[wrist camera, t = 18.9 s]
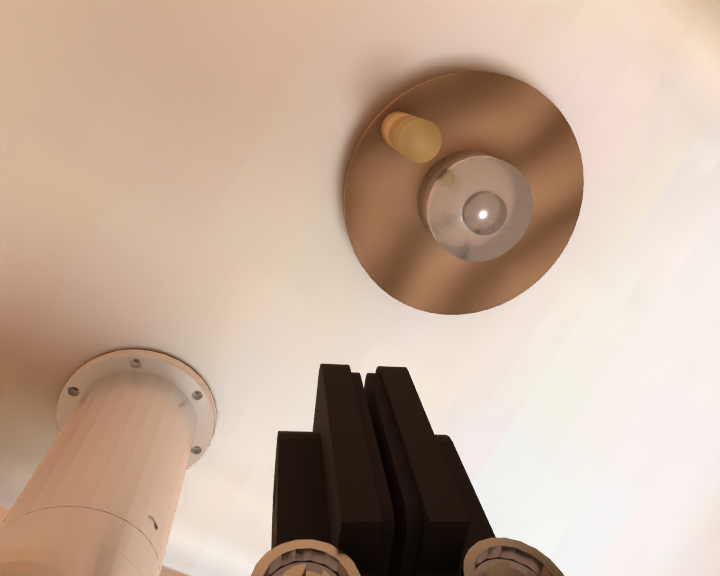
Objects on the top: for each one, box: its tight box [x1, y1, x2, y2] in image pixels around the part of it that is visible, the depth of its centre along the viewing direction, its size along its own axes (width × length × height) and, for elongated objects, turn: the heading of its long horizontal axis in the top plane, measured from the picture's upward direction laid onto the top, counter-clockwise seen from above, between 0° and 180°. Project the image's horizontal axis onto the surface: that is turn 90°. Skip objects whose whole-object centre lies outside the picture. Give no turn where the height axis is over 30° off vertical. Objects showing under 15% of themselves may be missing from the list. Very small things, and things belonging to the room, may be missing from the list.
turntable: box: [343, 72, 584, 315], centre depth 37 cm, size 18×18×8 cm
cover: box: [417, 150, 533, 262], centre depth 38 cm, size 7×7×5 cm
